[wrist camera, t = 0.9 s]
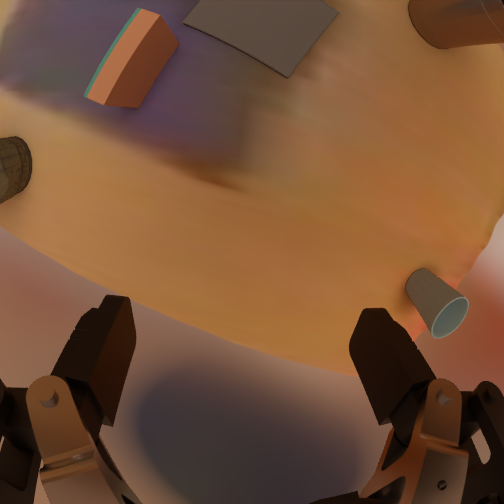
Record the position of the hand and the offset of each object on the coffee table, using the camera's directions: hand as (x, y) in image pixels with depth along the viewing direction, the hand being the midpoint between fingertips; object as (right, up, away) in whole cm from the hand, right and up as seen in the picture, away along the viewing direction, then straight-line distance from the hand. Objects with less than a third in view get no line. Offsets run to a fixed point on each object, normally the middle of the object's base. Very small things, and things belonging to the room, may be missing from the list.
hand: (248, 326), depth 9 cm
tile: (-11, +23, +16) cm, 30 cm away
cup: (+28, -3, +33) cm, 43 cm away
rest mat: (+1, +30, +14) cm, 33 cm away
